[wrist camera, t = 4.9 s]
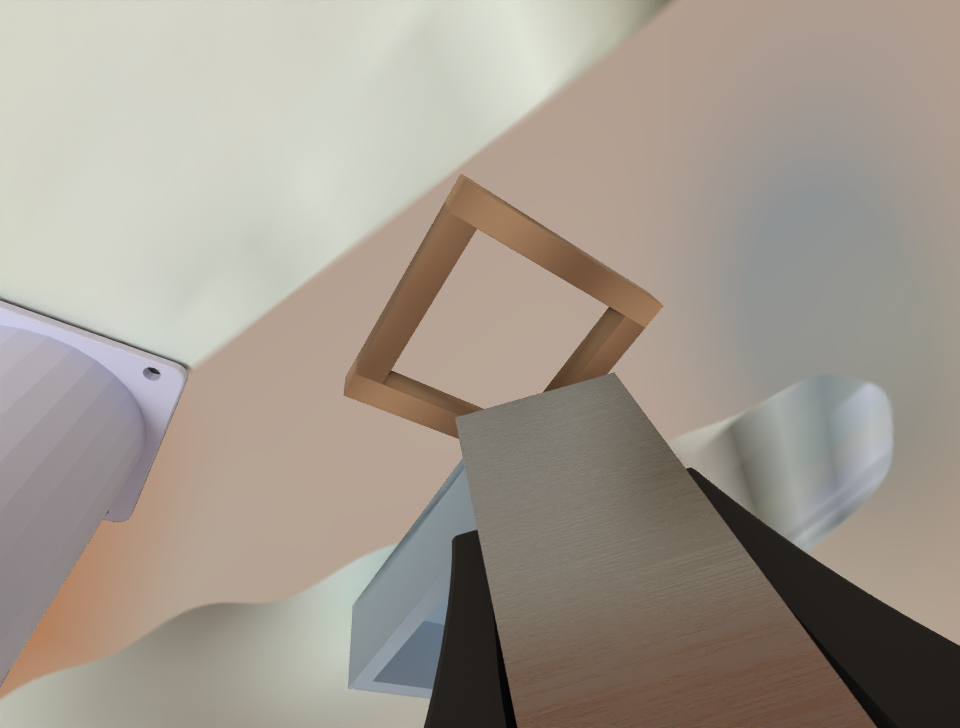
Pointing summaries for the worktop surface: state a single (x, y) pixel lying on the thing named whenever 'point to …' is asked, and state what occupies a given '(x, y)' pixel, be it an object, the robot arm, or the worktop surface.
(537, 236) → the socket
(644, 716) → the strut
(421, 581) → the bin
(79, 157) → the worktop surface
